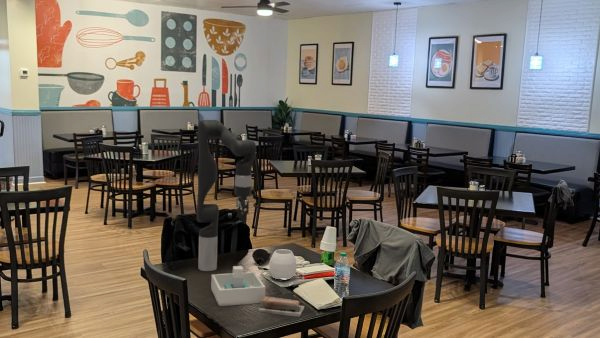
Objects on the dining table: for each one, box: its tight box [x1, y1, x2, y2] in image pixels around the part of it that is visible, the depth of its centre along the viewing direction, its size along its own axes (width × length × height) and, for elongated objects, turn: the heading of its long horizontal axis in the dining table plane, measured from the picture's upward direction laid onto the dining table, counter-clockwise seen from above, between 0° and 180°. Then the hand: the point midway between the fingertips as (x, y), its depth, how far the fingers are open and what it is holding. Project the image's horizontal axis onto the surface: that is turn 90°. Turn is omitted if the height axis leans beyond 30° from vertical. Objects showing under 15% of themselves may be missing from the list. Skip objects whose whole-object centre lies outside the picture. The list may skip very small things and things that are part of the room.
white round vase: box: [268, 248, 297, 280], centre depth 269 cm, size 13×13×14 cm
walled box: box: [210, 271, 267, 307], centre depth 244 cm, size 20×20×7 cm
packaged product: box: [258, 296, 305, 317], centre depth 231 cm, size 18×5×10 cm
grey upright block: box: [232, 265, 245, 289], centre depth 243 cm, size 4×4×12 cm
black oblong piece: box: [251, 248, 272, 266], centre depth 294 cm, size 9×11×18 cm
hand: (241, 219), depth 249 cm, fingers open, 8 cm apart
